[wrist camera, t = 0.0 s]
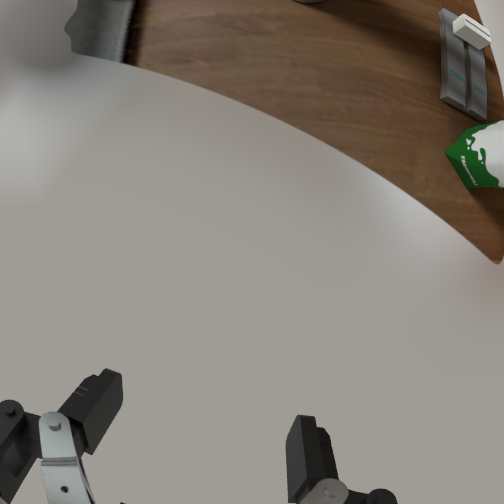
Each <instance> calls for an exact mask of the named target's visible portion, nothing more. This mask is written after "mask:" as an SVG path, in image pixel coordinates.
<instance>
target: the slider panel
mask: <svg viewBox="0 0 504 504" xmlns="http://www.w3.org/2000/svg"><path fill="white" fill-rule="evenodd" d="M438 16H439V27H440V43H441V96H440V99H441V100H443V101H445V102H447V103H449V104H451V105H452V106H454V107H456V108H458V109H460V110H461V111H463V112H465V113H467V114H468V115H470V116H472V117H473V118H475V119H477V120H478V121H482V120H487V86H486V70H485V59H484V50H483V48H482V49H480V50H479V49H477V48H476V47H474V46H473V45H471V44H470V43H468V42H466V41H465V42H464V41H463V39H462V38H460V37H458V36H457V35H455V34H454V32H453V23H452V22H453V21H454V20H456V19H457V18H458V16H456V15H455V14H453V13H451V12H449V11H448V10H446V9H444V8H443V9H442V10H441V11H440V12H439V13H438Z"/></svg>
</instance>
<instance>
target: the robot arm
mask: <svg viewBox="0 0 504 504" xmlns="http://www.w3.org/2000/svg"><path fill="white" fill-rule="evenodd" d="M294 1H298V2H303V3H317V2H321V1H324V0H294ZM122 401H123V389H122V375H121V374H120V373H118V372H115V371H112V370H110V369H107V368H106V369H104V370H103V371H102V373H101V374H100V375H99V376H96V375H92V376H90V377H87V378H86V379H84V381H83V382H82V383H81V384H80V385H79V387H77V388H76V390H75V391H74V392H73V393H72V394H71V396H70V397H69V398H68V399H67V400H66V402H65V403H64V404H63V405H62V406H61V407H60V409H59V410H58V411H57V412H48V413H45V414H43V415H42V416H38V415H34V414H31V413H27V412H24V410H23V407H22V406H21V404H20V403H18V402H17V401H14V400H5V401H2V402H1V403H0V504H10V503H11V501H12V499H13V498H14V496H15V494H16V492H17V491H18V489H19V487H20V485H21V484H22V482H23V480H24V479H25V477H26V475H27V474H28V472H29V470H30V469H31V467H32V465H33V464H34V462H35V460H36V459H37V458H40V459H43V461H41V470H42V475H43V480H44V485H45V490H46V495H47V499H48V503H49V504H96V501H95V499H94V497H93V494H92V492H91V489H90V486H89V483H88V480H87V476H86V473H85V470H84V466H83V463H82V459H81V456H82V455H83V453H84V452H86V453H88V454H90V455H92V454H93V453H94V451H95V449H96V448H97V446H98V444H99V443H100V441H101V439H102V438H103V436H104V434H105V433H106V431H107V429H108V428H109V426H110V424H111V423H112V421H113V419H114V418H115V416H116V415H117V413H118V411H119V410H120V408H121V405H122ZM286 464H287V484H288V503H296V504H397V500H396V497H395V496H394V494H393V493H392V492H390V491H388V490H386V489H375V490H373V491H371V492H370V493H369V494H366V493H360V492H355V491H351V490H349V489H348V488H347V486H346V485H345V484H344V483H343V482H341V481H340V480H339V478H338V473H337V469H336V463H335V459H334V455H333V449H332V447H331V440H330V436H329V434H328V433H327V432H326V430H325V429H324V428H320V427H317V426H316V420H315V417H314V416H306V415H297V417H296V418H295V421H294V423H293V425H292V427H291V429H290V432H289V434H288V436H287V440H286ZM120 504H124V503H122V502H121V503H120Z"/></svg>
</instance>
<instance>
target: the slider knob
mask: <svg viewBox="0 0 504 504" xmlns="http://www.w3.org/2000/svg"><path fill="white" fill-rule="evenodd" d="M452 23H453V32H454V34H455V35H457V36H458V37H460V38H462V39H463V41H464V42H465V41H466V42H468V43H470V44H471V45H473V46H474V47H476V48H477V49H479V50H480V49H482V48H483V47H485V46H487V45H489V44H491V39H490V32H489V31H488V30H487V29H486V28H484V27H483V26H482V25H480V24H479V23H477V22H476V21H474V20H473V19H471V18H470V17H468V16H467V15H465V14H464V13H463V14H462V15H461V16H460V17H458V18H457V19H456V20H454V21H453V22H452Z"/></svg>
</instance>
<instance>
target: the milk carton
mask: <svg viewBox="0 0 504 504" xmlns="http://www.w3.org/2000/svg"><path fill="white" fill-rule="evenodd" d="M445 154H446V156H447V157H448V159H449V160H450V162H451V163H452V165H453V167H454V168H455V170H456V171H457V173H458V175H459V176H460V178H461V180H462V181H463V183H464V185H465V186H466V188H476V187H500V188H504V120H503V121H498V122H493V123H488V124H483V125H479V126H475V127H471V128H468V129H465V130H464V132H463V133H462V134H461V135H460V136H459V137H458V139H457V140H456V141H455V142H454V143H453V144H452V145H451V146H450V148H449V149H448V150H447V151H446V152H445Z"/></svg>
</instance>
